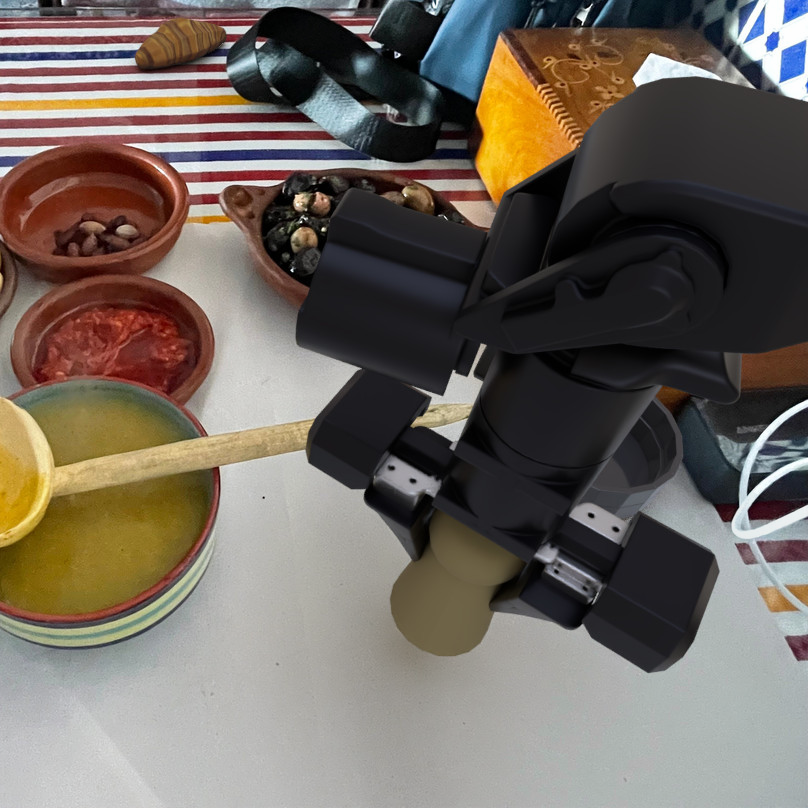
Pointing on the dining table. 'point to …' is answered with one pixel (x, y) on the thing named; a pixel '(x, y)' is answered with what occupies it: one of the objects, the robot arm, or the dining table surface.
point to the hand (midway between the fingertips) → (455, 579)
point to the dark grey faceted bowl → (639, 464)
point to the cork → (451, 588)
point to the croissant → (179, 43)
